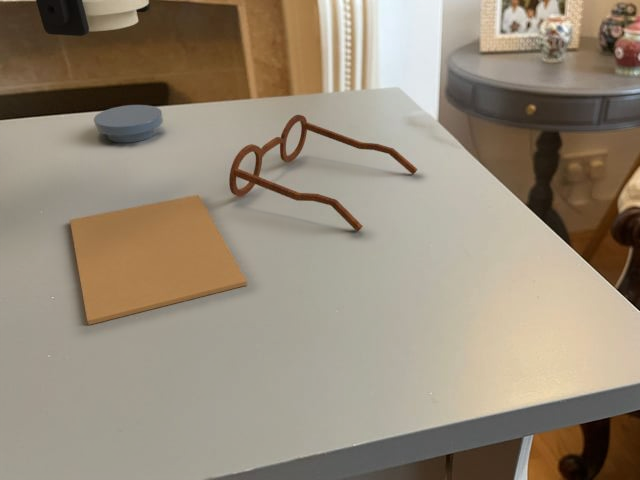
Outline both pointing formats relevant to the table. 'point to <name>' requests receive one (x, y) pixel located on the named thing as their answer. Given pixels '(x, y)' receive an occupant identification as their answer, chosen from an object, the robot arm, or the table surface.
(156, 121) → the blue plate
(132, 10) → the top plate
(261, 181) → the glasses
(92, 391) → the table surface
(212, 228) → the mat
